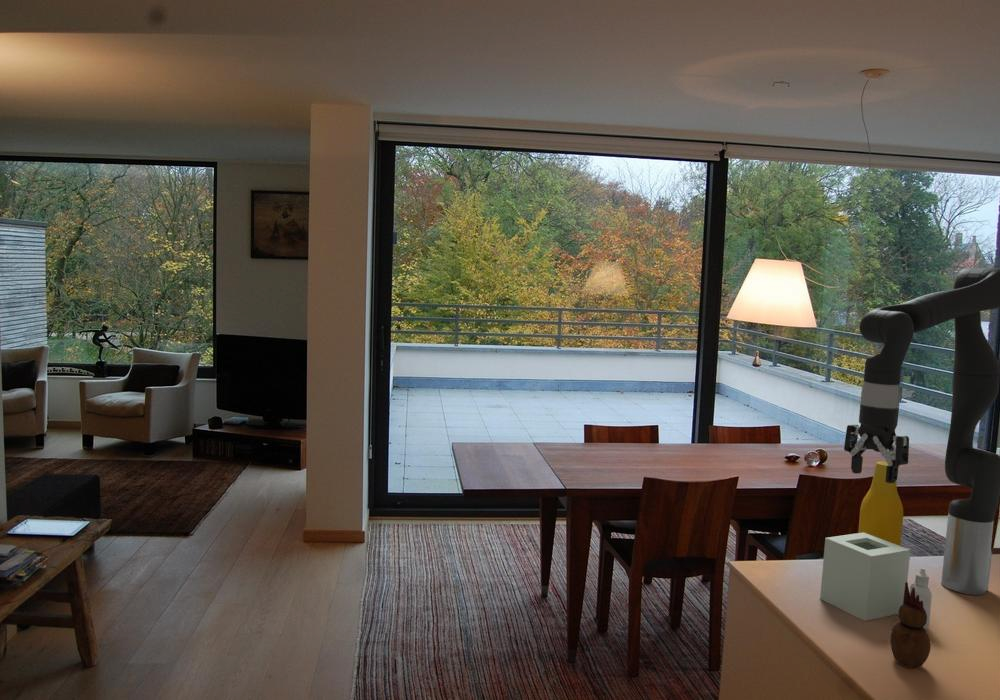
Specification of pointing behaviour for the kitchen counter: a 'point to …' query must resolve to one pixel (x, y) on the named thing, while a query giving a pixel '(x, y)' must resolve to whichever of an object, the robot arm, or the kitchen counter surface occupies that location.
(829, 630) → the kitchen counter surface
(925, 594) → the eye dropper bottle
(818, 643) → the kitchen counter surface
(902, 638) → the wooden figurine
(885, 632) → the kitchen counter surface
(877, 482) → the beer bottle
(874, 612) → the tissue box
